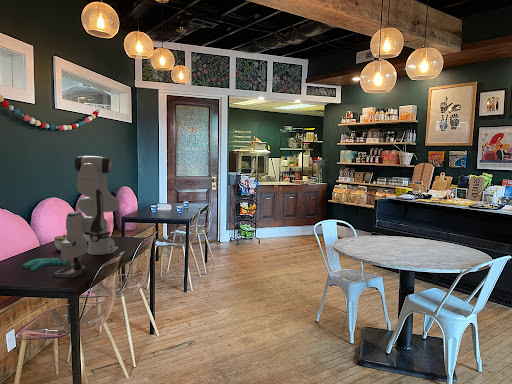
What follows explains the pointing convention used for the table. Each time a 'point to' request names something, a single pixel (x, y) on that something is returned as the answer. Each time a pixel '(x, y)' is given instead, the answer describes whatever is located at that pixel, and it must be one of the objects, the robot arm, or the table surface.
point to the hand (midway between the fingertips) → (75, 264)
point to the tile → (71, 271)
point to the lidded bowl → (59, 241)
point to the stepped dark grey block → (77, 265)
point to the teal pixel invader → (43, 263)
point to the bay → (62, 274)
